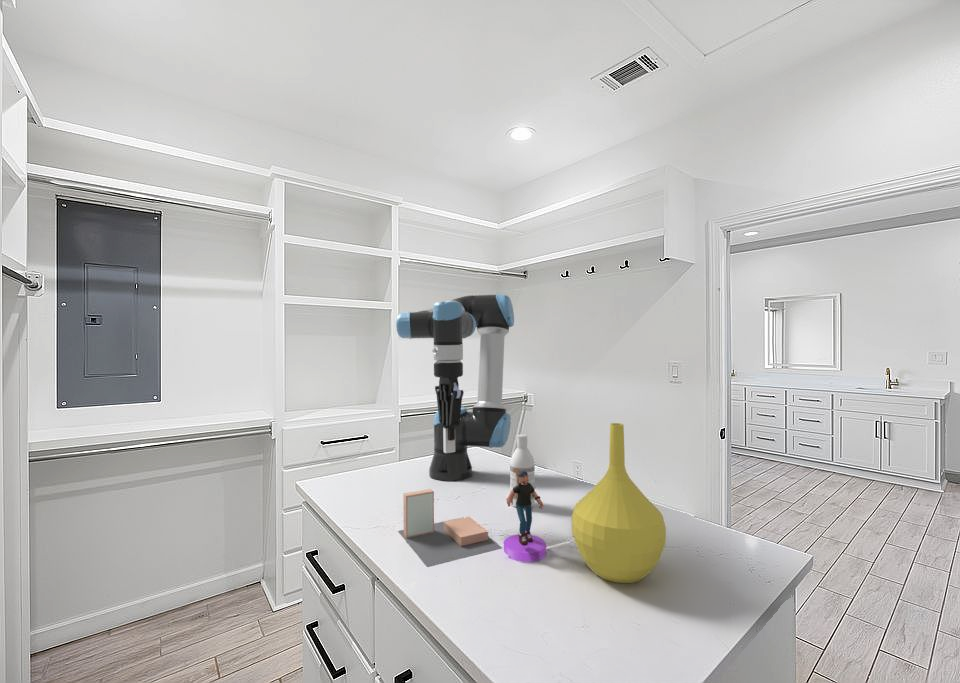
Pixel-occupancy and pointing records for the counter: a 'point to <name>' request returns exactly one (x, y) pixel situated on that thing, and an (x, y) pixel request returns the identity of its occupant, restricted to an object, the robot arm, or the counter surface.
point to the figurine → (524, 525)
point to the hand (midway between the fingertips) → (449, 451)
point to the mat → (445, 546)
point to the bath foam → (522, 466)
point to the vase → (618, 523)
